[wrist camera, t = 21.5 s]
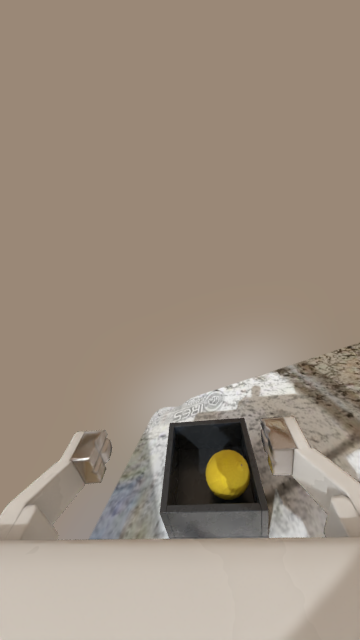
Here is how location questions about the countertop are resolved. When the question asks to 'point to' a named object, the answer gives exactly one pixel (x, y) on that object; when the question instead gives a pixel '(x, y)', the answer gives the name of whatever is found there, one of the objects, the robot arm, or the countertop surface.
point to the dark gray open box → (193, 491)
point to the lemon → (227, 474)
